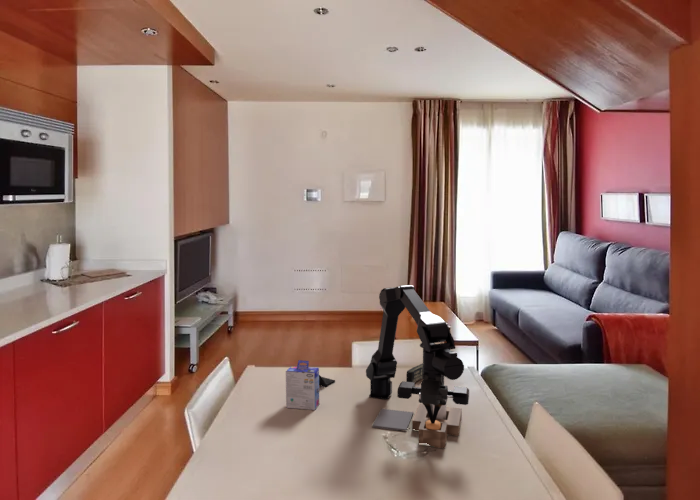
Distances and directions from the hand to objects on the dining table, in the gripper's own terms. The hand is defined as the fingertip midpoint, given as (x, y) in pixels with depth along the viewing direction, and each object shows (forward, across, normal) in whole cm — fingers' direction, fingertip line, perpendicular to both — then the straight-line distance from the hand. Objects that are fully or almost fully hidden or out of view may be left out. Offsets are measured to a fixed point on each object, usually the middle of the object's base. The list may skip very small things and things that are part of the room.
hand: (433, 422), depth 137 cm
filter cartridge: (+5, 0, +11) cm, 12 cm away
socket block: (+5, 0, +7) cm, 9 cm away
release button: (+4, 0, 0) cm, 4 cm away
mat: (+5, -13, +10) cm, 17 cm away
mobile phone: (+6, -10, +47) cm, 49 cm away
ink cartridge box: (+6, -43, +13) cm, 45 cm away
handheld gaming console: (+6, -46, +33) cm, 57 cm away
